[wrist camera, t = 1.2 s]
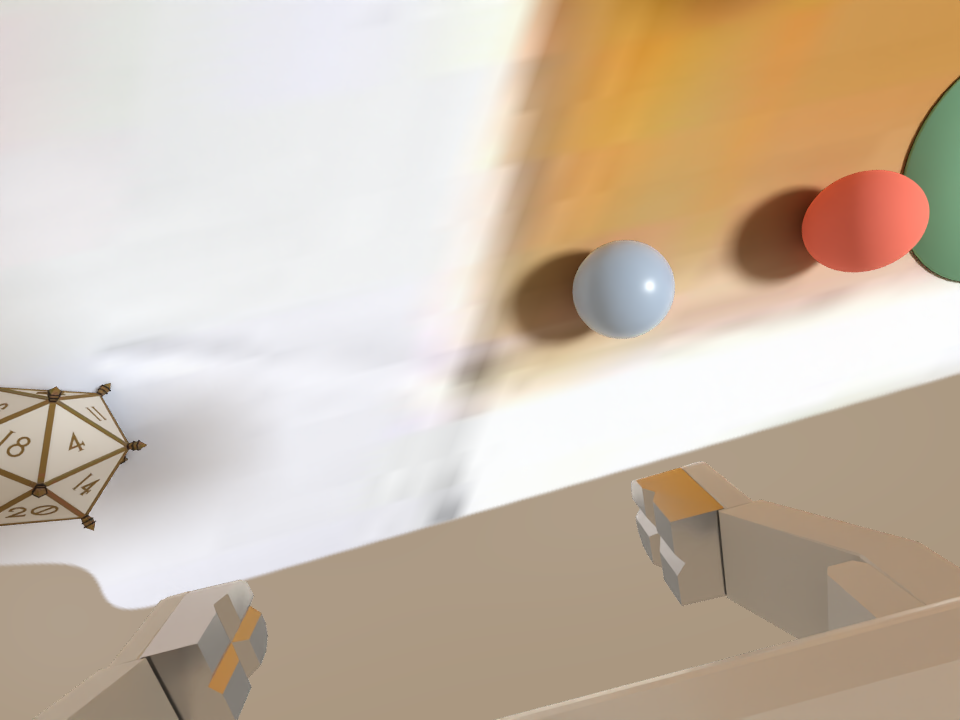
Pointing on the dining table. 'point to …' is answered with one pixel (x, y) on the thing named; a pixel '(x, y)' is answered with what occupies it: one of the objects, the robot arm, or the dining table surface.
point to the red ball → (865, 221)
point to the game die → (56, 454)
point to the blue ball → (623, 289)
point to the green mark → (939, 184)
